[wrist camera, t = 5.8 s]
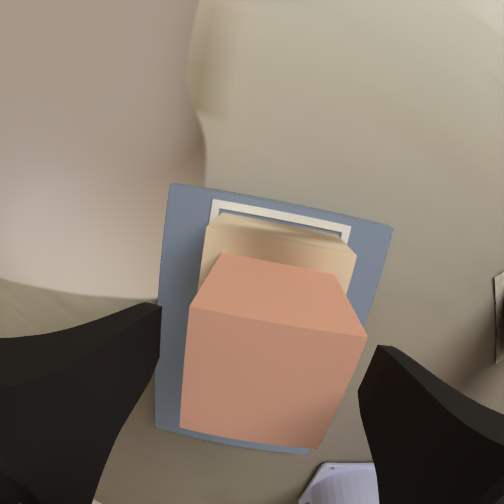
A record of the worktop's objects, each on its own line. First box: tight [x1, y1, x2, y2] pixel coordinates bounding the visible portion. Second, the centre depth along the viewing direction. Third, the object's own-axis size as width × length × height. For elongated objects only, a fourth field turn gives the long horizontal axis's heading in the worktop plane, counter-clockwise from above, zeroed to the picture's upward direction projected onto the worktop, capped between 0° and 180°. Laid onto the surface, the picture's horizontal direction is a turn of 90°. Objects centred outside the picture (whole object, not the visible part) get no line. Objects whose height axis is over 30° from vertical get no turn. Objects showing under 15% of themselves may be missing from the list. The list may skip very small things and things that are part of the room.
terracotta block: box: [180, 252, 368, 449], centre depth 10 cm, size 4×4×5 cm
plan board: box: [155, 183, 393, 455], centre depth 18 cm, size 12×18×1 cm, turn 170°
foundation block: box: [197, 213, 357, 295], centre depth 15 cm, size 6×6×4 cm
